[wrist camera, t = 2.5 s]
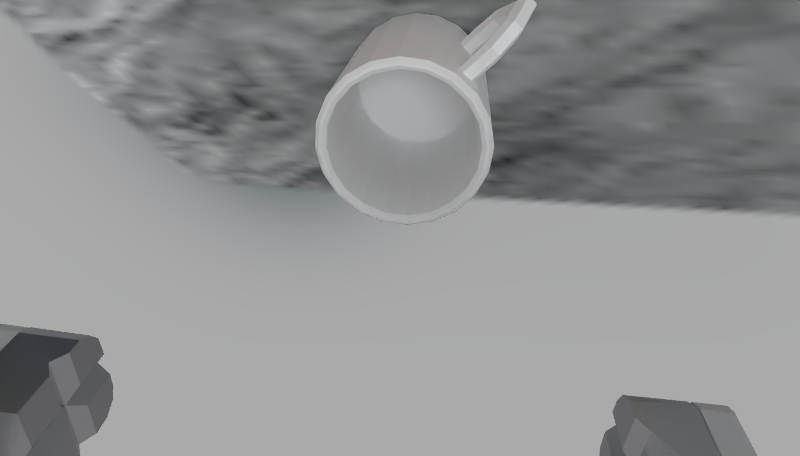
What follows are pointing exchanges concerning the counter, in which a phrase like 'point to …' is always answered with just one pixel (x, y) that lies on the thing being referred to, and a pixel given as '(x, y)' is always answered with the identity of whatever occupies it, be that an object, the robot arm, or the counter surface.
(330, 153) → the mug
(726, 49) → the counter surface
